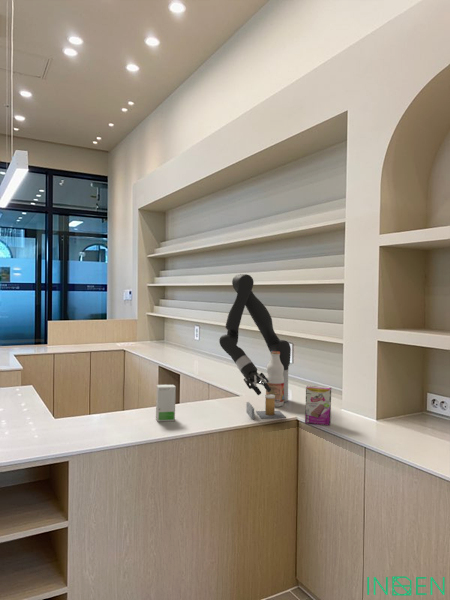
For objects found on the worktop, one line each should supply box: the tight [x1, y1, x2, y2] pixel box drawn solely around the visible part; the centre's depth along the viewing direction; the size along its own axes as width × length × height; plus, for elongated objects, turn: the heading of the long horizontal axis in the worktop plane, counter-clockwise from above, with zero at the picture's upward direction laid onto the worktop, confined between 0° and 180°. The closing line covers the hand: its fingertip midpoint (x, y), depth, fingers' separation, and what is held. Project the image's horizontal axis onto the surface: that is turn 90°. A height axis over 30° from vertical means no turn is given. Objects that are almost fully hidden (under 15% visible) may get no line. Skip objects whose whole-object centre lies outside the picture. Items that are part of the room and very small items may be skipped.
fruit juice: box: [265, 351, 285, 408], centre depth 233 cm, size 9×9×28 cm
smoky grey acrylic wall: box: [245, 401, 255, 421], centre depth 212 cm, size 13×1×5 cm, turn 8°
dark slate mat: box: [255, 410, 287, 420], centre depth 214 cm, size 12×12×1 cm
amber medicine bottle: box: [264, 394, 276, 415], centre depth 214 cm, size 5×5×9 cm
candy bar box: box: [304, 385, 332, 426], centre depth 200 cm, size 11×5×16 cm, turn 74°
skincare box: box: [155, 384, 177, 422], centre depth 204 cm, size 8×7×16 cm
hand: (265, 392), depth 216 cm, fingers open, 8 cm apart
